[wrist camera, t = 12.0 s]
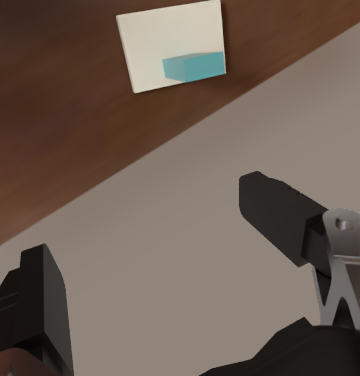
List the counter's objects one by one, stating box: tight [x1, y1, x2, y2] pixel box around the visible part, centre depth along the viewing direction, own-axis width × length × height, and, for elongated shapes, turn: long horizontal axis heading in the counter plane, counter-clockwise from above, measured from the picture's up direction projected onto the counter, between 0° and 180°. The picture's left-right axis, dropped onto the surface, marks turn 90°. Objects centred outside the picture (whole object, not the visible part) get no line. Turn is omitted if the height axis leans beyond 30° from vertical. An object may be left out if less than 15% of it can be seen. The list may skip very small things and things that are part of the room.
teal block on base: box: [116, 0, 226, 93], centre depth 29 cm, size 12×8×9 cm, turn 100°
